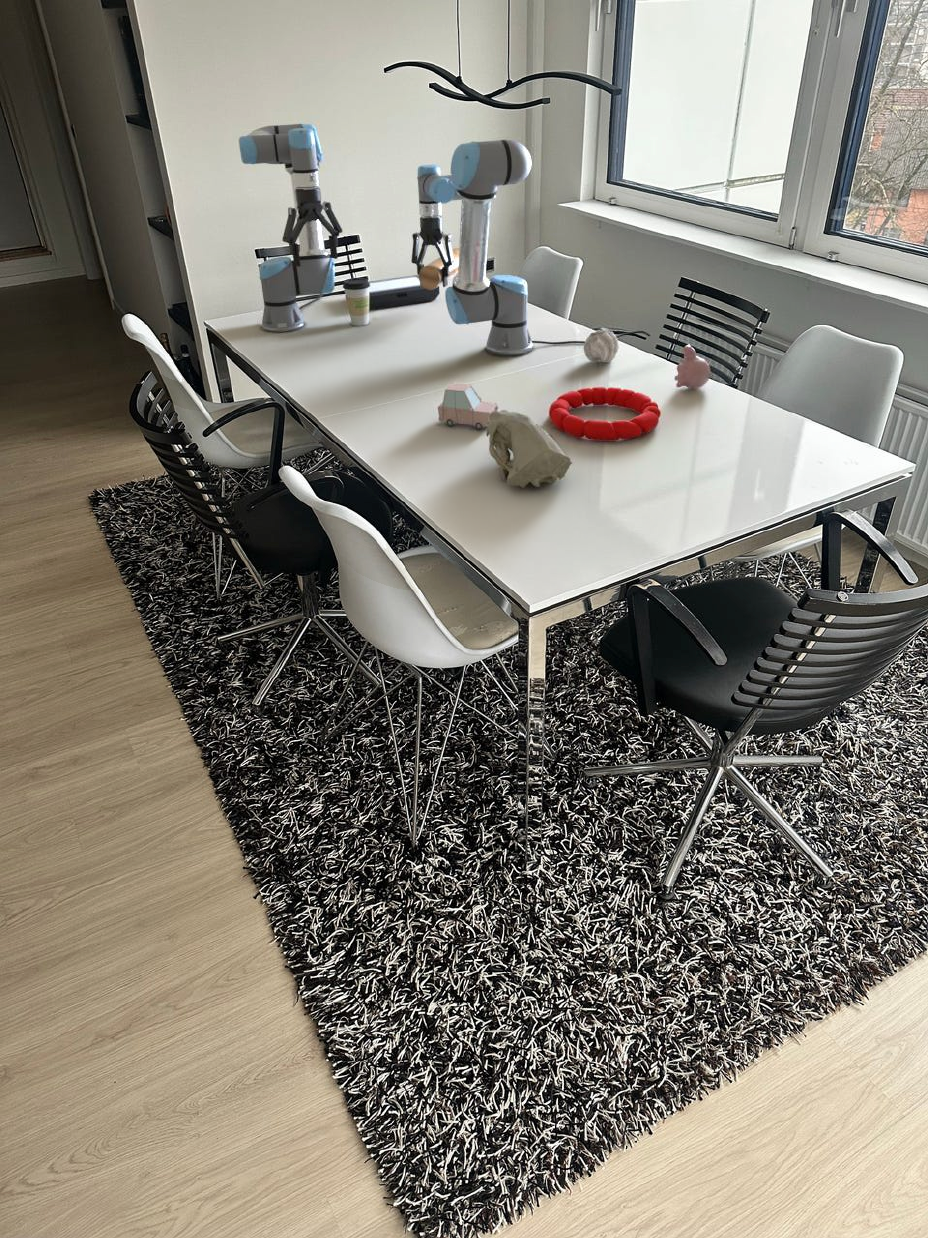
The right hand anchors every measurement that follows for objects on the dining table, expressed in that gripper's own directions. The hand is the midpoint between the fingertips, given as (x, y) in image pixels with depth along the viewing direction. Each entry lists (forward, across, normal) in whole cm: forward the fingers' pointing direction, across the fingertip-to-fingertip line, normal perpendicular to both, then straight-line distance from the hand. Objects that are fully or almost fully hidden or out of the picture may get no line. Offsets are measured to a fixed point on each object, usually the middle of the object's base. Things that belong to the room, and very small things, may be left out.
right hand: (433, 284), depth 315 cm
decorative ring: (+14, +80, -71) cm, 108 cm away
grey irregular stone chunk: (+14, +68, -107) cm, 128 cm away
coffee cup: (+14, -28, -6) cm, 31 cm away
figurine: (+14, +98, -39) cm, 106 cm away
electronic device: (+14, -29, +25) cm, 40 cm away
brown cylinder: (+1, 0, +10) cm, 10 cm away
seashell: (+14, +68, -23) cm, 73 cm away
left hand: (-16, -20, -45) cm, 52 cm away
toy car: (+14, +45, -83) cm, 96 cm away
